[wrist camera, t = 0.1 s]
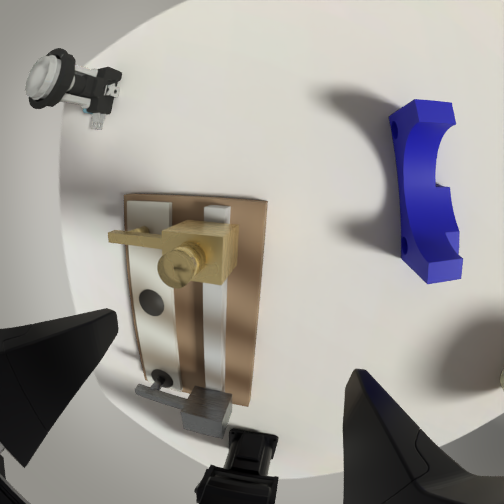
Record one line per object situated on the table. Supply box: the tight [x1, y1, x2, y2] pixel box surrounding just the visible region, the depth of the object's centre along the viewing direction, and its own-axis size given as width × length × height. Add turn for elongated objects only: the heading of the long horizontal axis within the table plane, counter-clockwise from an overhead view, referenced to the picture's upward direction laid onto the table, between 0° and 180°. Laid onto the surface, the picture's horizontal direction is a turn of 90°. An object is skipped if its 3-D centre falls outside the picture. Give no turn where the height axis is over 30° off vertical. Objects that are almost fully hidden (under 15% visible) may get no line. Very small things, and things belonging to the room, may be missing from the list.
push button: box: [25, 48, 122, 130], centre depth 17 cm, size 7×5×10 cm
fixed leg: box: [135, 376, 232, 439], centre depth 24 cm, size 3×10×5 cm, turn 86°
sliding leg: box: [108, 220, 239, 289], centre depth 18 cm, size 3×10×7 cm, turn 86°
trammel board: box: [124, 194, 268, 407], centre depth 24 cm, size 22×13×3 cm, turn 176°
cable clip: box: [389, 99, 463, 284], centre depth 16 cm, size 12×4×6 cm, turn 8°
